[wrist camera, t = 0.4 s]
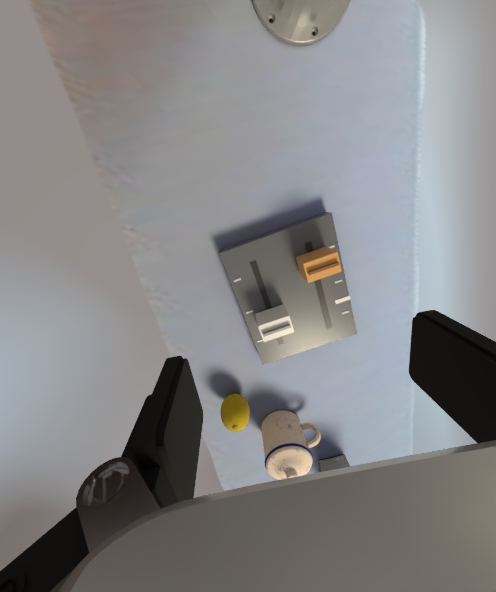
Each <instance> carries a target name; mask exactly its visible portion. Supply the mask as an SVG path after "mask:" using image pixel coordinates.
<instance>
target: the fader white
mask: <svg viewBox="0 0 496 592" xmlns="http://www.w3.org/2000/svg"><path fill="white" fill-rule="evenodd" d="M255 315H256V320H257V324H258V328H259V330H260V333H261V336H262V338H263V341H264V342H266V341H269V340H272V339H275V338H278V337H281V336H284V335H287V334H290V333H293V332H294V329H293V326H292V323H291V319H290V316H289V314H288V312H287V310H286V308H285V306H284V304H282V305H279V306H277V307H274V308H271V309H268V310H265V311H262V312H259V313H256V314H255Z"/></svg>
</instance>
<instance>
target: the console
mask: <svg viewBox="0 0 496 592" xmlns="http://www.w3.org/2000/svg"><path fill="white" fill-rule="evenodd" d="M326 246H327V247H329V248H331V249H333V250H335V251H337V252H338V256H339V261H340V266H341V270H342V272H339V273H336V274H333V275H330V276H327V277H325V278H322V279H319V280H316V281H313V282H310V283H308V282H307V281H306V280H305V279H304V278H303V277H302V276H301V275H300V272H299V268H298V265H297V261H296V257H297V256H300V255H303V254H306V253H309V252H311V251H314V250H317V249H320V248H323V247H326ZM219 254H220V257H221V259H222V262H223V265H224V267H225V270H226V272H227V275H228V277H229V280H230V282H231V285H232V288H233V290H234V293H235V295H236V298H237V300H238V303H239V305H240V308H241V310H242V313H243V316H244V318H245V321H246V323H247V326H248V328H249V331H250V333H251V336H252V339H253V341H254V344H255V346H256V349H257V351H258V354H259V356H260V359H261V361H262V364H266V363H269V362H272V361H275V360H278V359H281V358H284V357H288V356H291V355H294V354H297V353H300V352H303V351H306V350H309V349H312V348H315V347H318V346H321V345H324V344H327V343H330V342H333V341H336V340H339V339H342V338H345V337H348V336H351V335H354V334H357V331H356V327H355V322H354V317H353V312H352V308H351V303H350V295H349V293H348V289H347V284H346V279H345V274H344V270H343V265H342V260H341V255H340V251H339V246H338V241H337V236H336V232H335V227H334V222H333V218H332V213H328V212H325V213H322V214H319V215H317V216H314V217H311V218H308V219H306V220H303V221H300V222H297V223H295V224H292V225H289V226H286V227H283V228H281V229H278V230H275V231H272V232H270V233H267V234H264V235H261V236H259V237H256V238H253V239H250V240H247V241H245V242H242V243H239V244H236V245H234V246H231V247H228V248H225V249H222V250H220V252H219ZM282 304H284V306H285V308H286V310H287V312H288V314H289V316H290V319H291V323H292V326H293V329H294V332H293V333H290V334H287V335H284V336H281V337H278V338H275V339H272V340H269V341H266V342H264V341H263V338H262V336H261V333H260V330H259V328H258V324H257V320H256V315H255V314H256V313H259V312H262V311H265V310H268V309H271V308H274V307H277V306H279V305H282Z"/></svg>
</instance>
